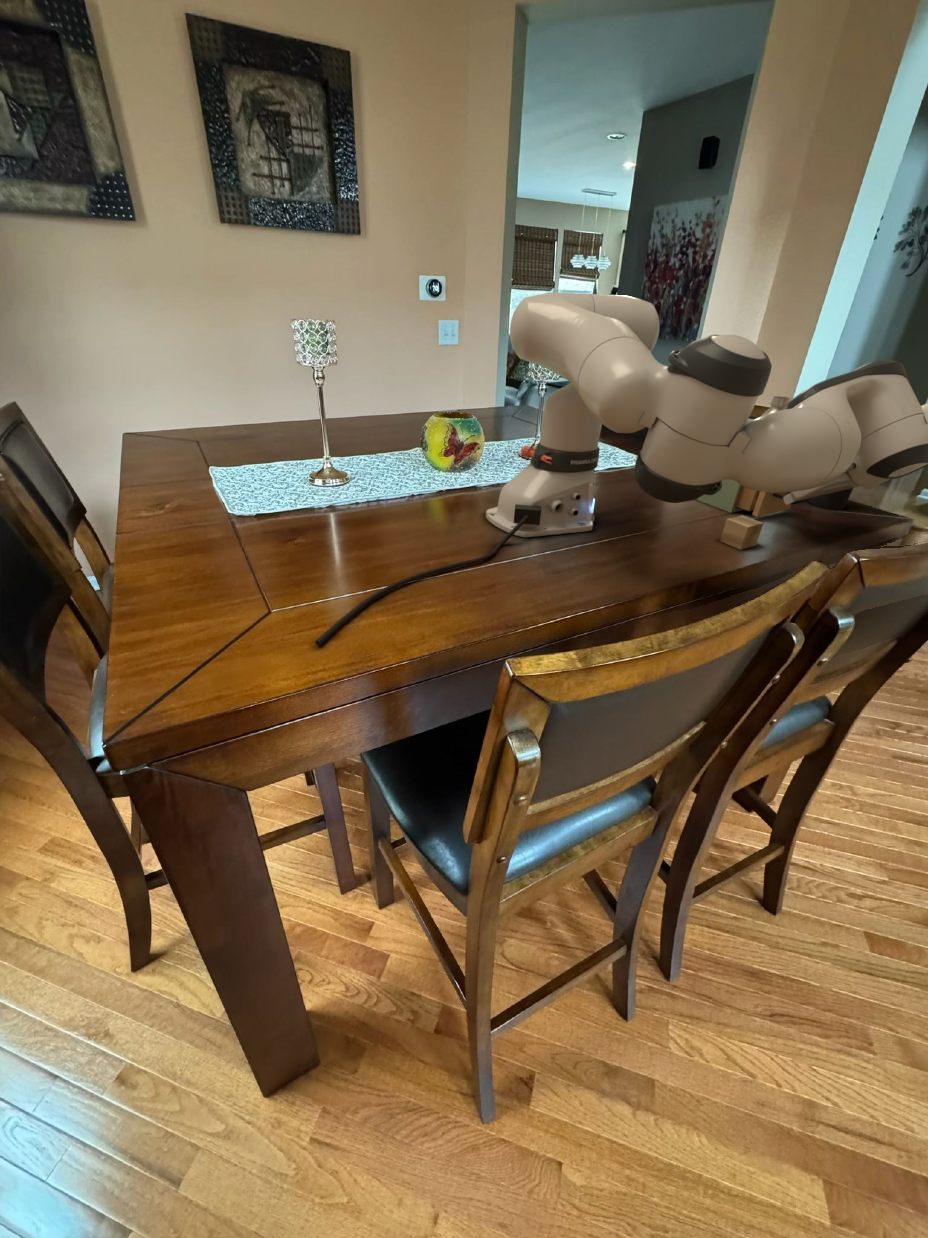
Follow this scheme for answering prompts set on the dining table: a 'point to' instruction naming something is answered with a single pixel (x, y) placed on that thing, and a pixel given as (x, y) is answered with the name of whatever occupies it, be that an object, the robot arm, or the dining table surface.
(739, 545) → the block
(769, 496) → the drawer
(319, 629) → the dining table surface
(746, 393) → the robot arm
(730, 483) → the cabinet
